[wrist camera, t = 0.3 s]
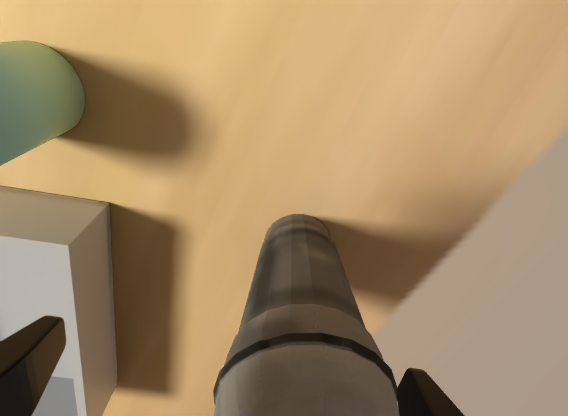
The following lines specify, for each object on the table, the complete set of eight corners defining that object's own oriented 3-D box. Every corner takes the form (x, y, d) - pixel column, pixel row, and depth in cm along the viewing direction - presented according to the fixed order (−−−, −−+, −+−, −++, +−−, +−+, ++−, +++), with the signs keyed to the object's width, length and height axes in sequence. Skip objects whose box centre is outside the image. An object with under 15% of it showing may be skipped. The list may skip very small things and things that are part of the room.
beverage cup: (323, 175, 23) (454, 751, 5) (369, 261, 26) (557, 822, 8) (222, 224, 24) (45, 790, 6) (276, 300, 27) (256, 836, 9)
